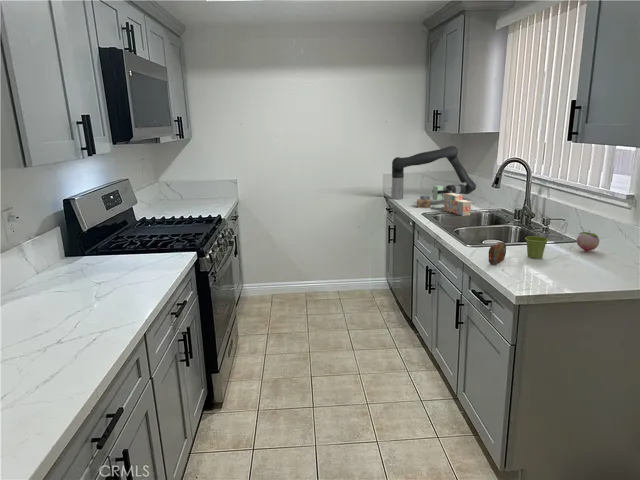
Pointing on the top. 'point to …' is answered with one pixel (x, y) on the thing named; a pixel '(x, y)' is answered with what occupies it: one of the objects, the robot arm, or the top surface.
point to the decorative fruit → (587, 241)
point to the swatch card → (437, 207)
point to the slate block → (425, 197)
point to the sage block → (435, 194)
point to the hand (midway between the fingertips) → (435, 191)
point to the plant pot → (535, 246)
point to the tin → (497, 253)
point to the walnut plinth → (423, 203)
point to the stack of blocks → (457, 204)
